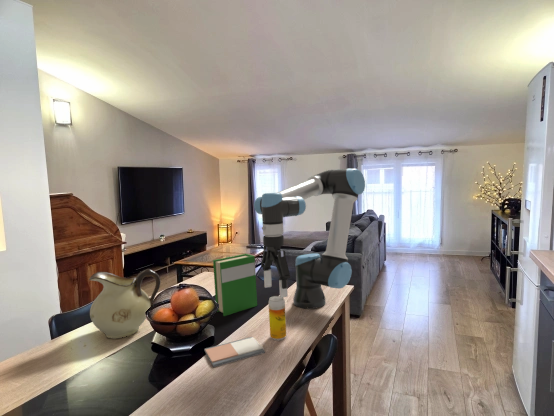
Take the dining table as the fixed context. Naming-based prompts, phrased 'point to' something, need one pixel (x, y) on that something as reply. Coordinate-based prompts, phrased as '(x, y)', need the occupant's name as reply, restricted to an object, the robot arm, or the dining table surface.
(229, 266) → the hardback book
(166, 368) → the dining table surface
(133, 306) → the pitcher
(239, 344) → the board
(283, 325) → the yellow bottle
